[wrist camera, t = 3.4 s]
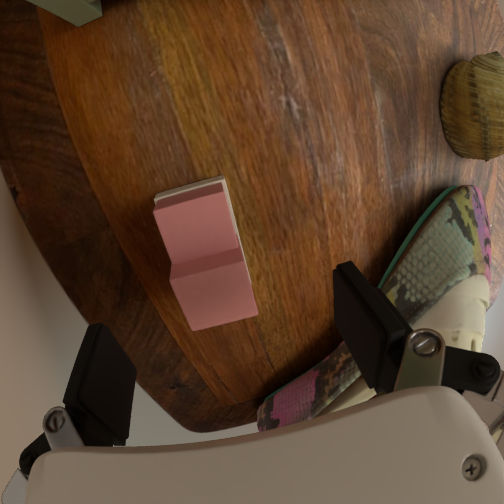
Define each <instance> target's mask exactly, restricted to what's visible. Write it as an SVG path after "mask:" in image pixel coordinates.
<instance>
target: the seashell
mask: <svg viewBox="0 0 504 504" xmlns="http://www.w3.org/2000/svg"><path fill="white" fill-rule="evenodd" d="M440 109H441V114H440V115H441V119H442V124H443V127H444V131H445V135H446V139H447V141H448V143H449V145H450V146H451V148H452V149H453V150H454V152H456V153H457V154H458V155H459V156H461V157H466V158H472V159H481V160H485V161H486V162H487V161H489V160H490V159H492V158H495V157H498V156H500V155H502V154H504V59H503V57H502V56H501V55H500V54H499V53H498V52H497V51H496V52H492V53H487V54H486V55H485V54H481V55H476V56H475V57H473V59H472V60H471V62H470V63H469V62H467V61H464V60H463V61H461V62H459V63H457V64H456V65H454V66H453V68H452V69H451V70H450V72H448V73H447V78H446V79H445V81H444V86H443V90H442V97H441V99H440Z"/></svg>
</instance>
